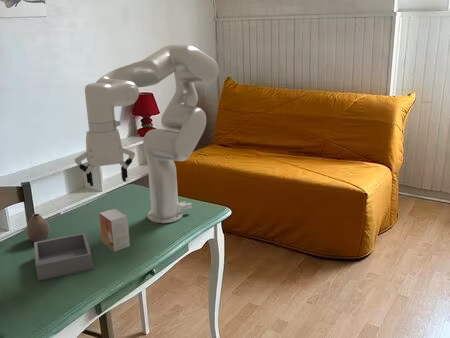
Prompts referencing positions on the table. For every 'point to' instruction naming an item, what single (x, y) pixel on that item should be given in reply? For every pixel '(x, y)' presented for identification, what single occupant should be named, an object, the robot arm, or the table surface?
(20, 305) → the table surface
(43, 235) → the vase
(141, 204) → the table surface
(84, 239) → the bin
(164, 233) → the table surface
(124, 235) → the small box
